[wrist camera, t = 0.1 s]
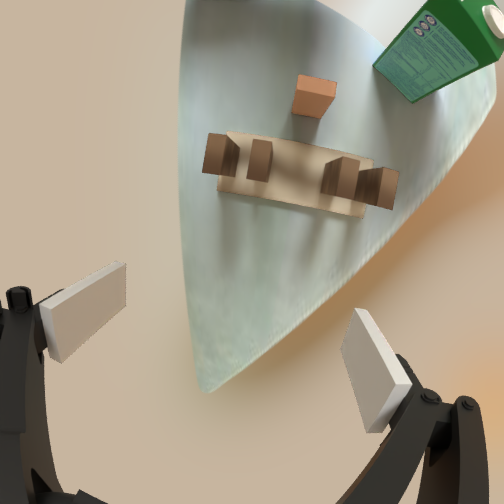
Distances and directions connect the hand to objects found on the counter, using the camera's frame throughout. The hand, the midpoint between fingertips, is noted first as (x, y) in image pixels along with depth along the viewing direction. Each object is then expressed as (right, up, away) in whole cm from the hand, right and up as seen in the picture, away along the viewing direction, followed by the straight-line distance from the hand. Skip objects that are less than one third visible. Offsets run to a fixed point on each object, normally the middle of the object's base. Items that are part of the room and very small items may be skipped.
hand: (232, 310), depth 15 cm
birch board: (+8, +15, +25) cm, 30 cm away
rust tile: (+9, +24, +22) cm, 34 cm away
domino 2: (+3, +15, +24) cm, 28 cm away
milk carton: (+27, +33, +19) cm, 46 cm away
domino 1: (-2, +16, +24) cm, 29 cm away
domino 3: (+12, +14, +23) cm, 30 cm away
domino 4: (+17, +13, +23) cm, 31 cm away
